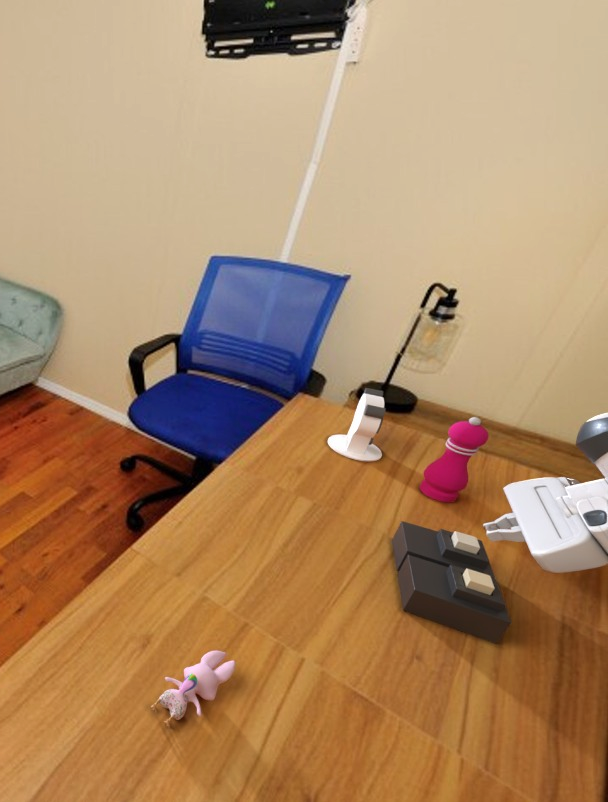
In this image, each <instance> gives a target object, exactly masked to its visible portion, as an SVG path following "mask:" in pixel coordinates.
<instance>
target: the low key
mask: <svg viewBox="0 0 608 802" xmlns="http://www.w3.org/2000/svg"><path fill="white" fill-rule="evenodd" d="M453 532H454V533H453V535H452V537H451V540H452V543H453V547H454V548H457V549H460V550H464V551H467V552H470V553H474V554H477V552H478V551H479V549H480V546H479V543H478V540H479V539H478V537H477V536H473V535H471V534H466V533H463V532H460V531H457V530H455V531H453ZM477 539H478V540H477Z"/></svg>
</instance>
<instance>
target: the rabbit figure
mask: <svg viewBox="0 0 608 802" xmlns="http://www.w3.org/2000/svg"><path fill="white" fill-rule="evenodd" d="M225 657H227V652H225V651H222V650H211V651H208V652H207V653H205V654H204V655H203V656H202V657H201V659H200V662H199V663H197V664H194V665H191V666H187V667H185V668H184V669H183V677H184V680H183V681H180V680H178V679H176V678H173V677H169V676H165V677H164V680H165V682H170V683H173V684H174V685H176V686H177V687H178V689H176V688H170V689H167V690H165V691H163V693H162V694H161V695H159V698H158V699H157V700H156V702H154V703H153V704H152V705H151V706H150V708H152V711H155V712H157V705H158V704H160V705H161V707H162V708H164V709H167V710H169V715H170V717H169V718H167V719H166V720H164V721H163V722H164V723H165V725H166V727H168V728H171V727H170V722H171V720H172V719H173V720H175V721H179V720H181V719H182V718H183V717H184V716H185V714H186V711H187V706H188V703H193V704H194V706H195V708H196V715H197V716H199V717H201V716H202V708H201V704H200V701H199V699H198V698H197V697H198V696H200V697H201V698H202V699H203V700H206V701H214V700H215V699H216V695H217V691H218V687H219V686H220V684H223V683H225V682H227V681H228V680H229V679H231V677H232V675H233V673H234V672H235V669H236V661H235V660H229V661H226V662H223V663H222V664H220V663H221V662H222V661H223V660H224V659H225ZM218 665H219V666H218ZM217 666H218V667H217ZM196 694H197V695H198V696H197V695H196Z"/></svg>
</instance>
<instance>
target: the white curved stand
mask: <svg viewBox="0 0 608 802" xmlns="http://www.w3.org/2000/svg"><path fill="white" fill-rule="evenodd" d="M383 396H384V391H383V390H379V389H374V388H368V387H365V388H364V391H363V393H362V395H361V397H360V399H359V401H358V404H357V407H356V409H355V412H354V416H353V420H352V422H351V425H350V427H349V429H348V432H347V434H332V435H330V436H329V437H328V439H327V444H328V446H329V447H330V449H331V450H333V451H334V452H336V453H338V454H339V455H341V456H343V457H345V458H347V459H348V458H349V459H352V460H355V461H359V462H369V463H370V462H376V461H379V460H380V459H382V456H383V453H382V450H381V449H380V448H379V447H378V446H376V444H374V443H373V442H374V437H375V436H376V434H379V432H380V430H381V428H382V425H383V422H384V417H385V414H386V410H387V407H385V398H384V397H383Z"/></svg>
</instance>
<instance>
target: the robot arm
mask: <svg viewBox="0 0 608 802" xmlns="http://www.w3.org/2000/svg"><path fill="white" fill-rule="evenodd" d="M575 446H576V447H577V448H578V450H579V451H581V453H582V454H583V455H584V456H585V457H586V458H587V459H588V460H589V461H590V463H592V465H595V466H596V468H597V469H598V470H599V472H600V473H601V474H602V475H603V477H604V478H600V479H596V480H591V481H585V482H580V481H579V480H578V479H575V478H571V477H566V476H560V477H553V476H549V477H538V478H532V479H526V480H520V481H515V482H512V483H509V484H507V485H505V486H504V487H503V489H502V491H503V492H504V494H505V497H506V499H507V501H508V503H509V506H510V508H511V511H512V512H509V513H505V514H503V515H501V516H500V517H498V518H496V519H495V520H494V521H489V522H485V523H483V524H482V526H483V527H482V528H483V530H484V533H485V535H486V537H487V538H488V540H489V541H490V542H493V543H494V542H495V543H496V542H501V541H507V542H516V543H523V542H525V543H526V545H527V547H528V550H529V552H530V555H531V556H532V557H533V559H534V560H535V562H536V563H537V564H538V565H539V567H540V568H541V569H542V570H544V571H545V572H549V573H554V574H564V573H571V572H580V571H585V570H592V569H597V568H601V567H603V566H606V565H608V412H604V413H601V414H597V415H595V416H593V417H591V418H590V419H588V420H587V421H584V422H582V423H581V426H580V427H579V429H578V432H577V434H576V439H575Z"/></svg>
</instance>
